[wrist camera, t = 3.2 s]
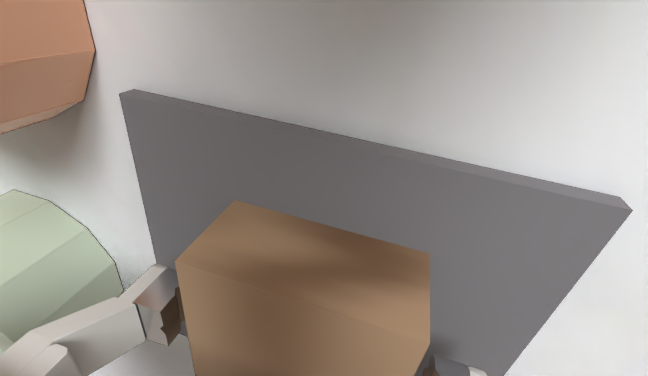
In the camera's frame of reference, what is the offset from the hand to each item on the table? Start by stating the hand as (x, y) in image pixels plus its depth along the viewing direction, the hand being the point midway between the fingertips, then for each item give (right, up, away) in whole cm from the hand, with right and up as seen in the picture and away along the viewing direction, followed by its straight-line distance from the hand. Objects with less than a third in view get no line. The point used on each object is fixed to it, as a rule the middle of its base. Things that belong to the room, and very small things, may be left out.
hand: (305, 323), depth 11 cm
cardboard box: (0, +1, +1) cm, 1 cm away
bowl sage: (-13, +1, +6) cm, 15 cm away
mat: (0, +1, +2) cm, 2 cm away
